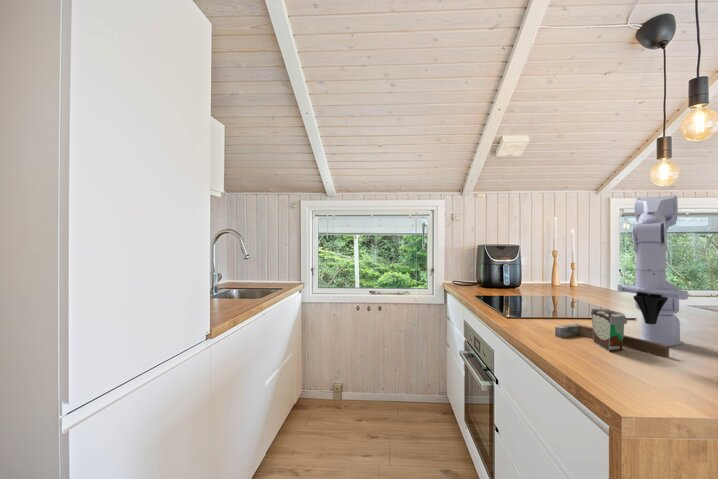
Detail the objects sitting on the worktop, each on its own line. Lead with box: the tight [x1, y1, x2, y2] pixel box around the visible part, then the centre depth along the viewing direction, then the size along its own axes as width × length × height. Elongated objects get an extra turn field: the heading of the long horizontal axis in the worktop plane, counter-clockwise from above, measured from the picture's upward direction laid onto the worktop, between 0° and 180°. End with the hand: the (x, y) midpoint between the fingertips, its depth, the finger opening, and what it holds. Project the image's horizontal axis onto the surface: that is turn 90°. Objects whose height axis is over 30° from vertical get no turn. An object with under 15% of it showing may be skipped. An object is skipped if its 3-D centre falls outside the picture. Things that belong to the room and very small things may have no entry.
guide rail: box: [554, 323, 670, 359], centre depth 101 cm, size 10×26×3 cm, turn 21°
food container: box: [590, 308, 628, 353], centre depth 99 cm, size 12×6×10 cm, turn 168°
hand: (650, 323), depth 88 cm, fingers closed
